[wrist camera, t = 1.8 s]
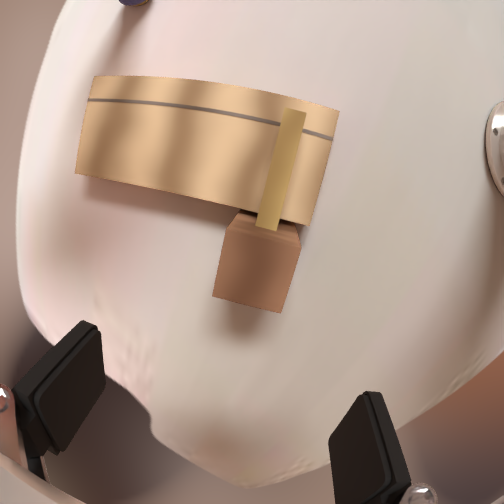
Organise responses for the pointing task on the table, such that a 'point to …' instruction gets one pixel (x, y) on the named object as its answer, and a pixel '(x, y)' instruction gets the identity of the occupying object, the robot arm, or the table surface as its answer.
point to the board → (201, 140)
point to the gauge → (264, 234)
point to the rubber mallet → (133, 2)
